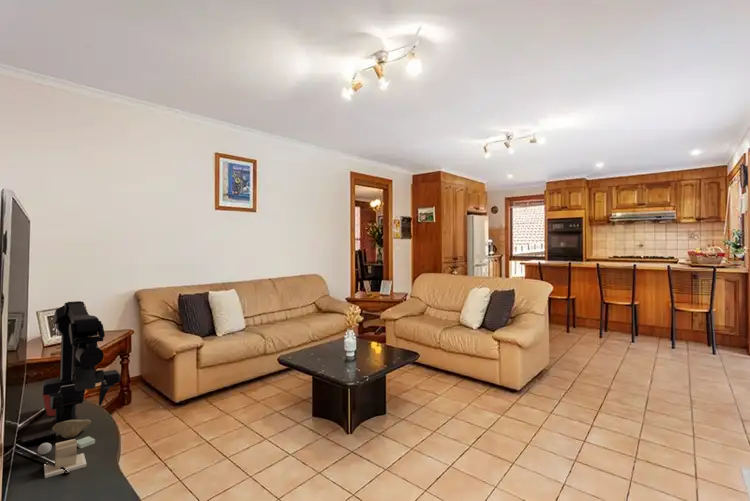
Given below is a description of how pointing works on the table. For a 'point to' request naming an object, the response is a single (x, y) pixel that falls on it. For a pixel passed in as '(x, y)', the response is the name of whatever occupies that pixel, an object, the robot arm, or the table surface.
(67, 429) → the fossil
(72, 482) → the table surface
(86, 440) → the tile
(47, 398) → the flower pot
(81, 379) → the robot arm
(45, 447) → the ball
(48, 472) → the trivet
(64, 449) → the block
